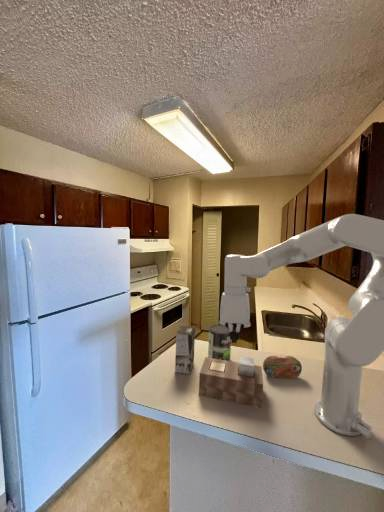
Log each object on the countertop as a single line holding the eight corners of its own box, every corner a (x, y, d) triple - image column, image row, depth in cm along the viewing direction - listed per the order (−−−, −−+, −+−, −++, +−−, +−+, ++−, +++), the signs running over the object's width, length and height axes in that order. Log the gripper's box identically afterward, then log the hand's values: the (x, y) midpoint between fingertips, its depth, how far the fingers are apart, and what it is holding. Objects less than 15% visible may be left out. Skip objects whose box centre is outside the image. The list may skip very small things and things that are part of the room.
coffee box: (190, 374, 91) (191, 335, 89) (174, 372, 92) (175, 333, 91) (194, 362, 99) (195, 326, 98) (180, 360, 101) (181, 325, 99)
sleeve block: (260, 386, 84) (261, 366, 84) (261, 407, 74) (263, 384, 73) (204, 376, 90) (205, 357, 89) (198, 395, 79) (199, 373, 78)
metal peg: (252, 379, 82) (253, 358, 81) (252, 387, 77) (253, 366, 77) (238, 376, 83) (239, 356, 83) (237, 385, 78) (238, 363, 78)
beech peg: (224, 383, 85) (225, 364, 84) (222, 392, 80) (223, 371, 79) (211, 381, 86) (211, 361, 85) (208, 389, 81) (209, 369, 80)
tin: (264, 379, 89) (265, 358, 89) (261, 374, 93) (262, 354, 92) (301, 379, 90) (303, 359, 89) (297, 374, 93) (299, 355, 93)
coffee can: (235, 359, 103) (236, 329, 102) (220, 368, 96) (221, 335, 95) (217, 351, 110) (219, 322, 109) (202, 358, 103) (204, 328, 102)
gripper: (257, 289, 81) (255, 339, 82) (215, 286, 84) (214, 335, 85) (258, 294, 73) (256, 349, 75) (212, 291, 77) (211, 343, 78)
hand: (234, 341), depth 80 cm, fingers closed
